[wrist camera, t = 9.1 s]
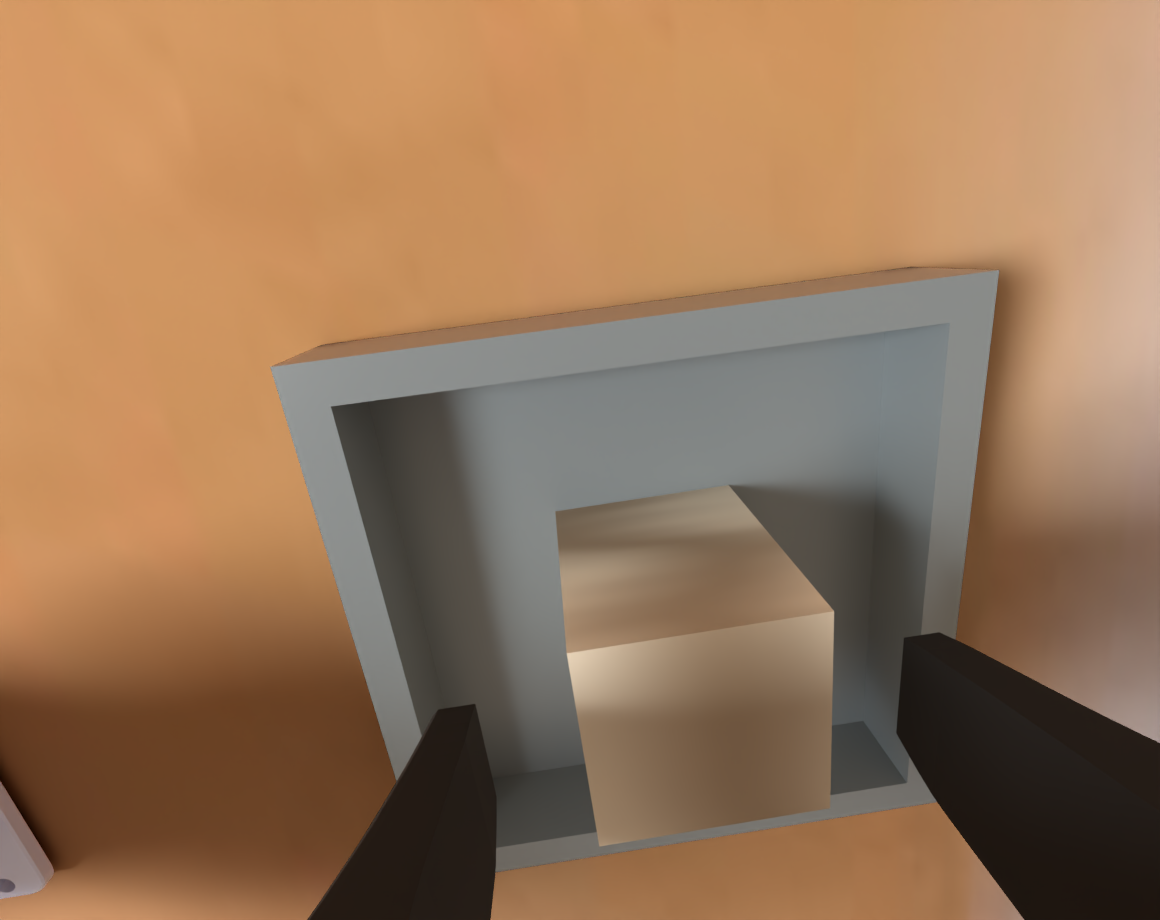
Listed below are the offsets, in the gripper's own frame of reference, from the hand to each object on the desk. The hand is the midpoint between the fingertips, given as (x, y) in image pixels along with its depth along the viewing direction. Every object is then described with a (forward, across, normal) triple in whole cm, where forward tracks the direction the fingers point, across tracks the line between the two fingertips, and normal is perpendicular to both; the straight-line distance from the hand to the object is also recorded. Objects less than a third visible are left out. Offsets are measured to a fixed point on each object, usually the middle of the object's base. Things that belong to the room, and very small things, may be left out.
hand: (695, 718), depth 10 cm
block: (+4, 0, 0) cm, 5 cm away
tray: (+5, 0, 0) cm, 5 cm away
